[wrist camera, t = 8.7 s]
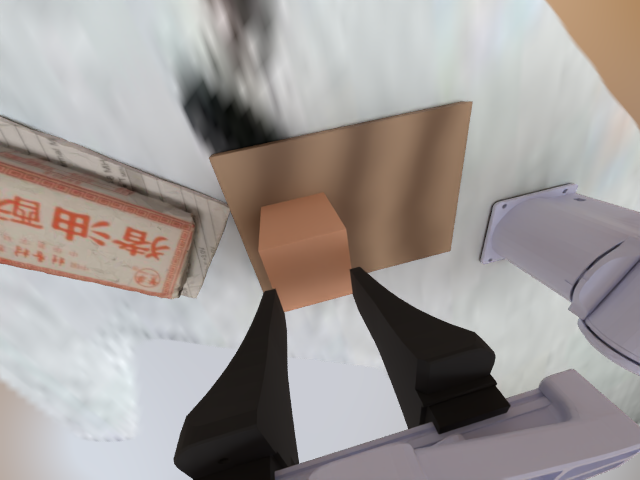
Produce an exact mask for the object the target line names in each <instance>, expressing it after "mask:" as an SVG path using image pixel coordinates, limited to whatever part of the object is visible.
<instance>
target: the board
mask: <svg viewBox="0 0 640 480" xmlns="http://www.w3.org/2000/svg"><path fill="white" fill-rule="evenodd" d="M471 108H472V102H457V103H452V104H448V105H443V106H438V107H434V108H429V109H424V110H420V111H415V112H410V113H405V114H401V115H396V116H391V117H387V118H382V119H377V120H373V121H368V122H363V123H358V124H354V125H349V126H344V127H340V128H335V129H330V130H326V131H321V132H316V133H311V134H307V135H302V136H297V137H293V138H288V139H283V140H278V141H274V142H269V143H264V144H260V145H255V146H250V147H246V148H241V149H236V150H231V151H227V152H222V153H217V154H213V155H211V156H210V157H209V159H210V162H211V164H212V167H213V169H214V172H215V174H216V177H217V179H218V182H219V184H220V186H221V189H222V191H223V194H224V196H225V199H226V201H227V204H228V206H229V209H230V211H231V214H232V216H233V219H234V221H235V224H236V226H237V228H238V231H239V233H240V236H241V238H242V241H243V243H244V246H245V248H246V251H247V253H248V256H249V258H250V261H251V263H252V265H253V268H254V270H255V273H256V275H257V278H258V280H259V283H260V285H261V288H262V290H263V293H264V292H265V291H267V290H271V289H273V288H272V286H271V283H270V281H269V278H268V275H267V273H266V270H265V267H264V265H263V262H262V259H261V257H260V254H259V252H258V247H259V232H260V216H261V207H264V206H268V205H272V204H276V203H280V202H285V201H289V200H293V199H297V198H301V197H306V196H310V195H314V194H318V193H323V192H324V194H325V195H326V197H327V198H328V200H329V202H330V203H331V205H332V207H333V208H334V210H335V211H336V213H337V215H338V216H339V218H340V220H341V221H342V223H343V224H344V226H345V228H346V231H347V238H348V246H349V253H350V261H351V268H356V267H361V268H362V269H363V270H364V271H366V272H367V273H368V272H372V271H376V270H379V269H383V268H387V267H391V266H395V265H399V264H402V263H406V262H410V261H414V260H418V259H422V258H425V257H429V256H433V255H437V254H441V253H444V252H448V251H450V250H451V243H452V237H453V230H454V223H455V216H456V210H457V203H458V196H459V189H460V183H461V176H462V169H463V162H464V156H465V149H466V142H467V135H468V129H469V122H470V115H471Z"/></svg>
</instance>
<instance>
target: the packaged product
mask: <svg viewBox="0 0 640 480" xmlns="http://www.w3.org/2000/svg"><path fill="white" fill-rule="evenodd" d="M229 212H230V209H229V206H228V204H226V203H224V202H221V201H219V200H217V199H214V198H212V197H209V196H206V195H204V194H201V193H198V192H196V191H193V190H190V189H188V188H185V187H182V186H180V185H177V184H174V183H171V182H167V181H164V180H162V179H160V178H157V177H155V176H152V175H150V174H147V173H145V172H142V171H140V170H137V169H135V168H132V167H130V166H128V165H125V164H123V163H120V162H118V161H115V160H113V159H110V158H107V157H105V156H103V155H100V154H98V153H96V152H94V151H91V150H89V149H87V148H85V147H82V146H80V145H78V144H75V143H72V142H68V141H67V140H64V139H61V138H58V137H55V136H52V135H49V134H45V133H42V132H39V131H36V130H32V129H29V128H27V127H25V126H22V125H20V124H17V123H15V122H12V121H10V120H8V119H5V118H3V117H0V263H1V264H8V265H11V266H15V267H20V268H24V269H29V270H36V271H40V272H45V273H47V274H52V275H57V276H63V277H68V278H72V279H77V280H82V281H88V282H94V283H99V284H102V285H105V286H111V287H116V288H120V289H125V290H129V291H137V292H140V293H143V294H147V295H151V296H157V297H160V298H168V299H174V298H179V297H180V295H183V296H187V297H190V298H196V297H197V295H198V293H199V291H200V289H201V287H202V284H203V282H204V279H205V276H206V273H207V270H208V267H209V265H210V263H211V261H212V258H213V256H214V254H215V252H216V249H217V247H218V244H219V242H220V239H221V237H222V234H223V232H224V229H225V226H226V222H227V219H228V216H229Z"/></svg>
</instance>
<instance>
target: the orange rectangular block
mask: <svg viewBox="0 0 640 480" xmlns="http://www.w3.org/2000/svg"><path fill="white" fill-rule="evenodd" d="M258 252H259V254H260V257H261V259H262V262H263V265H264V267H265V270H266V273H267V275H268V278H269V281H270V283H271V286H272V288H273V289H275V288H276V291H277V294H278V297H279V299H280V302H281V305H282V308H283V310H284V312H286V311H290V310H294V309H298V308H301V307H305V306H309V305H312V304H316V303H320V302H323V301H327V300H331V299H334V298H338V297H342V296H345V295H349V294H353V292H352V285H351V277H350V269H352V268H351V261H350V253H349V246H348V238H347V231H346V228H345V226H344V224H343V223H342V221H341V220H340V218H339V216H338V215H337V213H336V211H335V210H334V208H333V207H332V205H331V203H330V202H329V200H328V198H327V197H326V195H325V194H324V192H323V193H318V194H314V195H310V196H306V197H301V198H297V199H293V200H289V201H285V202H280V203H276V204H272V205H268V206H264V207H261V216H260V232H259V247H258Z"/></svg>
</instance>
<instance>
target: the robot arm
mask: <svg viewBox="0 0 640 480" xmlns="http://www.w3.org/2000/svg"><path fill="white" fill-rule="evenodd" d="M577 188H578V185H577V184H574V183H571V184H567V185H563V186H559V187H555V188H551V189H547V190H543V191H539V192H535V193H531V194H527V195H523V196H519V197H515V198H511V199H507V200H503V201H499V202H497V203H495V204H494V206H493V209H492V214H491V218H490V222H489V226H488V230H487V235H486V239H485V243H484V247H483V252H482V256H481V260H480V262H481V263H483V264H488V263H491V262H495V261H499V260H502V259H506V260H508V261H509V262H511V263H512V264H514V265H515V266H517V267H518V268H520V269H521V270H523V271H525V272H526V273H528V274H529V275H531V276H532V277H534V278H535V279H537V280H538V281H540V282H541V283H543V284H544V285H546V286H547V287H549V288H550V289H552V290H553V291H555V292H556V293H558V294H559V295H561V296H562V297H564V298H565V299H567V300H568V301H570V302H571V305H570V307H569V308H568V310H569V311H571V312H572V313H574V314H575V315H577V316H578V317H580V318H579V319H578V327H579V329H580V331H581V332H582V333H583V335H584V336H585V338H586V339H587V340H588V342H589V343H590V344H591V345H592V346H593V347H594V348H595V349H597V350H598V351H599V352H600V353H601V354H603V355H604V356H605V357H607V358H608V359H610V360H611V361H613V362H614V363H616V364H618V365H619V366H621V367H623V368H624V369H626V370H628V371H630V372H632V373H634V374H636V375H638V376H640V212H637V211H634V210H630V209H627V208H624V207H620V206H617V205H614V204H610V203H607V202H603V201H600V200H597V199H593V198H590V197H587V196H583V195H580V194H577V193H575V192H576V190H577ZM350 277H351V285H352V292H353V297H354V299H355V302H356V305H357V307H358V310H359V312H360V314H361V316H362V318H363V320H364V322H365V324H366V326H367V328H368V330H369V332H370V334H371V336H372V337H373V339H374V341H375V343H376V345H377V348H378V350H379V352H380V355H381V357H382V360H383V362H384V365H385V367H386V370H387V372H388V375H389V378H390V380H391V383H392V385H393V388H394V391H395V393H396V396H397V399H398V401H399V404H400V407H401V410H402V412H403V415H404V418H405V421H406V424H407V426H408V430H404V431H402V432H399V433H395V434H392V435H389V436H385V437H382V438H380V439H376V440H373V441H370V442H366V443H363V444H360V445H357V446H354V447H351V448H348V449H345V450H341V451H338V452H335V453H332V454H329V455H326V456H322V457H319V458H316V459H313V460H310V461H306V462H303V463H300V464H299V459H298V452H297V445H296V438H295V432H294V423H293V417H292V408H291V400H290V391H289V382H288V371H287V370H288V369H287V328H286V320H285V313H284V310H283V308H282V305H281V302H280V299H279V297H278V294H277V291H276V288H275V289H271V290H267V291H265V292H264V293H263V296H262V299H261V302H260V305H259V307H258V310H257V312H256V315H255V317H254V320H253V322H252V324H251V326H250V328H249V330H248V332H247V334H246V336H245V338H244V340H243V342H242V344H241V345H240V347H239V349H238V351H237V352H236V354H235V356H234V357H233V359H232V360H231V362H230V363H229V365H228V366H227V368H226V369H225V371H224V372H223V373H222V375H221V376H220V377H219V379H218V380H217V381H216V383H215V384H214V385H213V386H212V388H211V389H210V390H209V391H208V393H207V394H206V395H205V396H204V397H203V399H202V400H201V401H200V402H199V403H198V404H197V405H196V406H195V408H194V409H193V410H192V411H191V412H190V413H189V414H188V415H187V416H186V419H185V422H184V425H183V427H182V430H181V433H180V437H179V441H178V444H177V448H176V452H175V456H174V464H175V465H176V467H177V468H178V469H180V470H181V471H182V472H184V473H185V474H187V475H188V476H190V477H191V478H192V479H193V480H585V479H588V478H591V477H593V476H596V475H599V474H601V473H604V472H607V471H610V470H612V469H615V468H618V467H619V466H621V465H622V464H624V463H625V462H627V461H628V460H630V459H631V458H633V457H634V456H636V455H637V454H639V453H640V426H639V425H637V424H636V423H635V422H634V421H633V420H632V419H631V418H629V417H628V416H627V415H626V414H625V413H624V412H623V411H621V410H620V409H619V408H618V407H617V406H616V405H615V404H613V403H612V402H611V401H610V400H609V399H608V398H607V397H605V396H604V395H603V394H602V393H601V392H600V391H598V390H597V389H596V388H595V387H594V386H593V385H592V384H590V383H589V382H588V381H587V380H586V379H585V378H584V377H582V376H581V375H580V374H579V373H578V372H577V371H576V370H574V369H569V370H566V371H563V372H560V373H556V374H553V375H550V376H548V377H546V378H544V379H543V380H542V381H541V382H540V384H539V388H537V389H534V390H531V391H528V392H525V393H521V394H518V395H515V396H512V397H509V398H506V399H505V397H504V396H503V395H502V394H501V392H500V391H499V390H498V389H497V387H496V385H497V383H496V381H495V380H494V378H493V377H492V376H491V375H490V373H491V370H492V368H493V365H494V362H495V353H494V351H493V350H492V349H491V348H490V347H489V346H488V345H487V344H486V343H485V342H484V341H483V340H482V339H481V338H480V337H479V336H478V335H477V334H476V333H475V332H472V331H469V330H467V329H464V328H461V327H458V326H455V325H452V324H449V323H447V322H445V321H442V320H440V319H437V318H435V317H433V316H431V315H429V314H427V313H425V312H422V311H420V310H419V309H417V308H415V307H413V306H411V305H410V304H408V303H406V302H405V301H403V300H401V299H400V298H398V297H397V296H396V295H394V294H393V293H391V292H390V291H388V290H387V289H386V288H385V287H383V286H382V285H381V284H379V283H378V282H377V281H376V280H375V279H373V278H372V277H371V276H370V275H369V274H368V273H367V272H366V271H364V270H363V269H362V268H361V267H356V268H352V269H350Z"/></svg>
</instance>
